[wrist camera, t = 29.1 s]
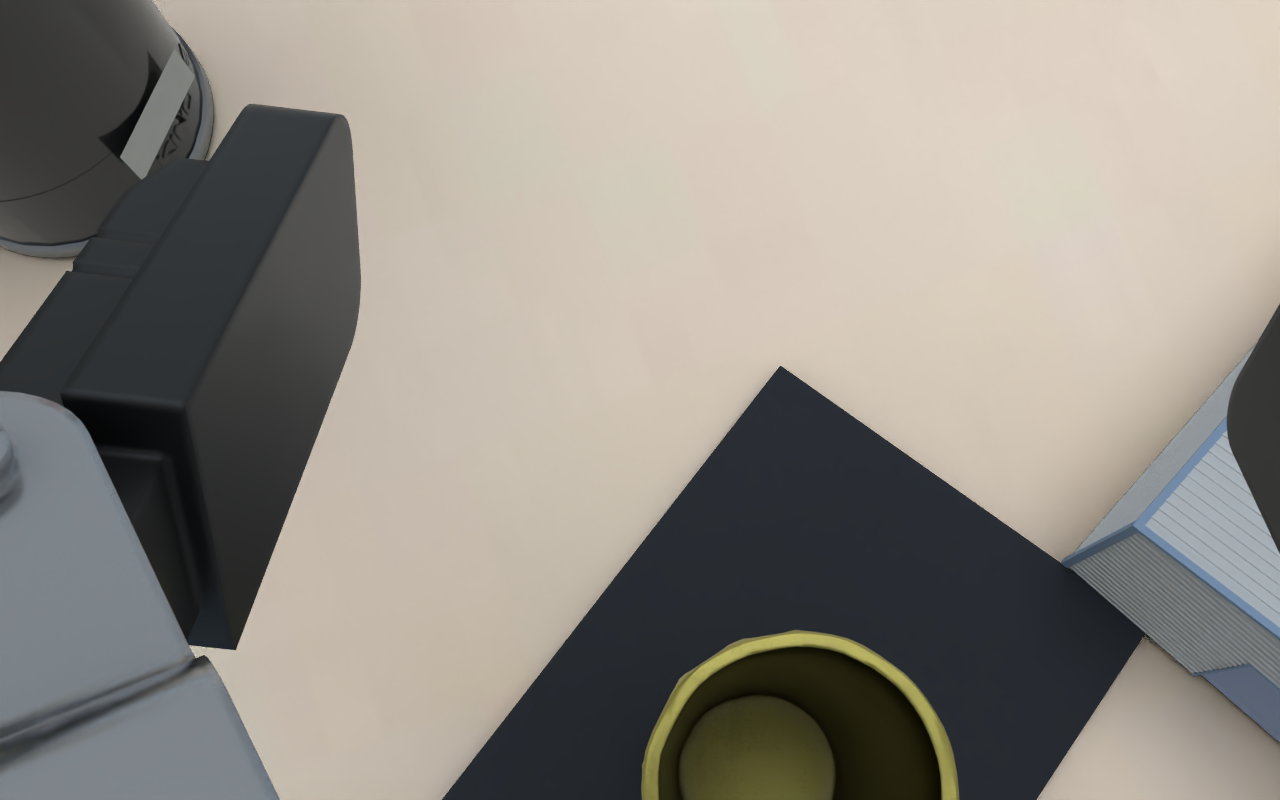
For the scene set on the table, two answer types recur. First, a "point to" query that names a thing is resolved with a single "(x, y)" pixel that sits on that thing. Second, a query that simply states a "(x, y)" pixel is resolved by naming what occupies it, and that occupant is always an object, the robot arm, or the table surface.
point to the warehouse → (1197, 563)
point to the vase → (798, 727)
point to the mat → (820, 611)
